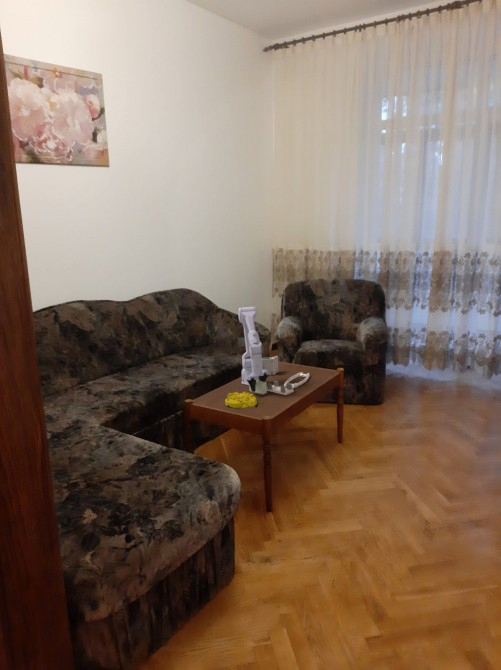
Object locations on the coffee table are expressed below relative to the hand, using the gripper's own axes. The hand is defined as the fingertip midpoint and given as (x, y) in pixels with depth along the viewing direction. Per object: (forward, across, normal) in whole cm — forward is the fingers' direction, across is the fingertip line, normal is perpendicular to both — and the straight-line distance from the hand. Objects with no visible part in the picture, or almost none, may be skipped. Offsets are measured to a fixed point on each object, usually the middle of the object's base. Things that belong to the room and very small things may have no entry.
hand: (258, 389), depth 271 cm
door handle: (+2, +26, -8) cm, 27 cm away
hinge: (+2, +28, +16) cm, 33 cm away
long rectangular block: (+2, 0, 0) cm, 2 cm away
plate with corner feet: (+1, +8, -9) cm, 12 cm away
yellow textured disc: (+2, -18, -3) cm, 18 cm away
